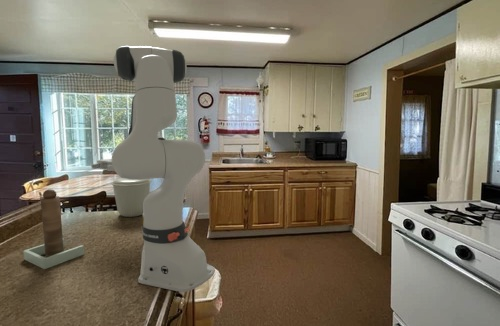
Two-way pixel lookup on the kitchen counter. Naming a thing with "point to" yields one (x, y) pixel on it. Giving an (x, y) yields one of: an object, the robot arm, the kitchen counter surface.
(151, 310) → the kitchen counter surface
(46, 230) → the pepper mill
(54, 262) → the box
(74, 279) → the kitchen counter surface
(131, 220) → the kitchen counter surface
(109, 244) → the kitchen counter surface
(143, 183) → the canister
